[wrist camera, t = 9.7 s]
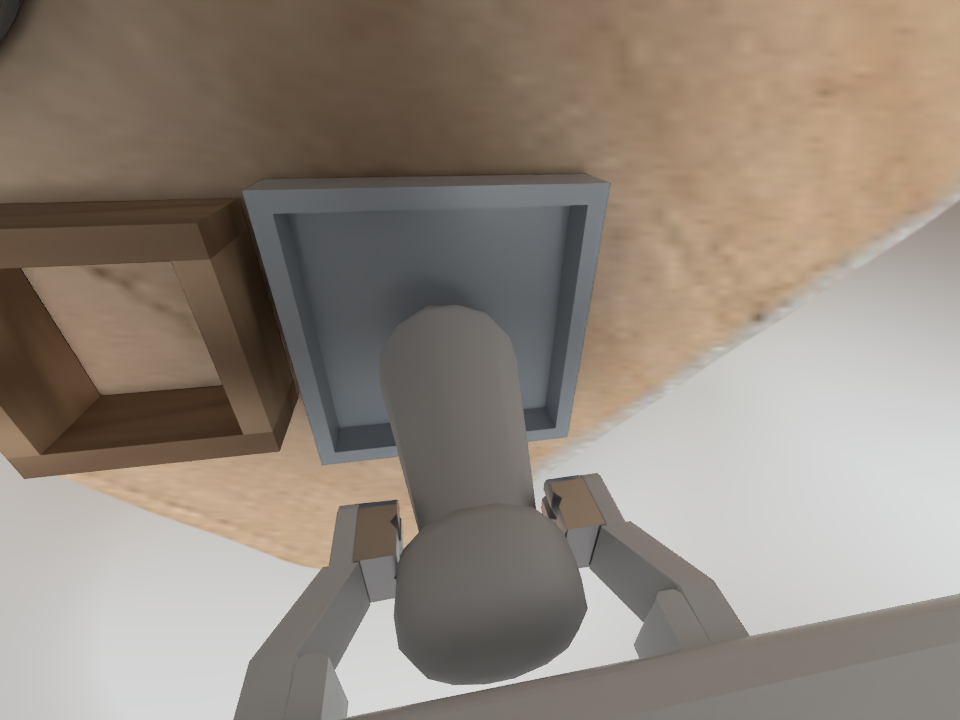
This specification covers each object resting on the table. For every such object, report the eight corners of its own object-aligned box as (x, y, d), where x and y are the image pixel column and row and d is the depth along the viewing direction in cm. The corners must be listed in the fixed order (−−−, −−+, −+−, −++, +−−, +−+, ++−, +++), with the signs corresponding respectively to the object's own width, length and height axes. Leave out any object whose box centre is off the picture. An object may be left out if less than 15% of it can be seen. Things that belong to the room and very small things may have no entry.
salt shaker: (384, 277, 17) (354, 585, 6) (514, 290, 18) (683, 562, 7) (378, 390, 20) (352, 734, 9) (491, 394, 21) (587, 699, 10)
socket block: (-59, 205, 15) (-192, 235, 11) (238, 198, 16) (196, 223, 13) (85, 417, 20) (24, 478, 17) (297, 398, 22) (279, 451, 18)
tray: (262, 179, 16) (242, 190, 14) (586, 173, 18) (610, 183, 16) (329, 432, 23) (321, 465, 21) (553, 409, 25) (567, 437, 23)
